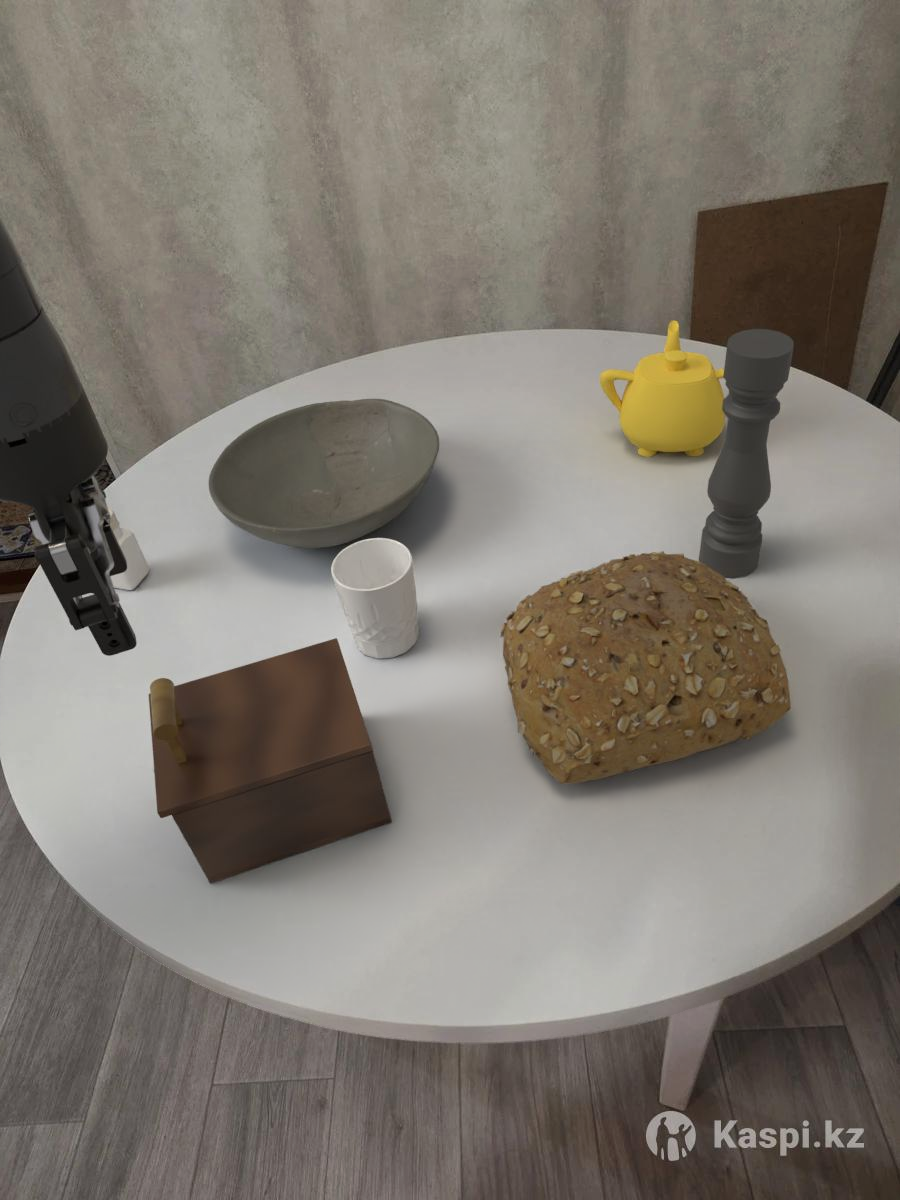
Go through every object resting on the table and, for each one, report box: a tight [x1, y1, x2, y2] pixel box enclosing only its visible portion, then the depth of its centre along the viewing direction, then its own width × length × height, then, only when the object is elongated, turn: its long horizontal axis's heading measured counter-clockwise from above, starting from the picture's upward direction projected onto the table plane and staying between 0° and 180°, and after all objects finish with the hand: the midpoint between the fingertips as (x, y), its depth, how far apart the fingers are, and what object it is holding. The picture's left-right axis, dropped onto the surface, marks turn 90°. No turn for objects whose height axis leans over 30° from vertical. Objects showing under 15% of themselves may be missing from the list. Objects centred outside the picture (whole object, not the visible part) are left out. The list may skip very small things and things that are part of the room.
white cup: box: [330, 537, 420, 660], centre depth 87 cm, size 8×8×10 cm
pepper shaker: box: [106, 506, 150, 591], centre depth 99 cm, size 4×4×10 cm
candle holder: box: [698, 328, 795, 579], centre depth 85 cm, size 6×6×25 cm
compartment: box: [171, 750, 393, 884], centre depth 73 cm, size 16×13×10 cm
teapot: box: [599, 319, 729, 458], centre depth 108 cm, size 14×14×12 cm
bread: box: [500, 550, 792, 785], centre depth 77 cm, size 24×21×12 cm
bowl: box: [208, 398, 440, 549], centre depth 105 cm, size 27×28×8 cm
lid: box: [148, 637, 374, 819], centre depth 68 cm, size 16×13×6 cm
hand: (117, 608), depth 60 cm, fingers open, 8 cm apart
